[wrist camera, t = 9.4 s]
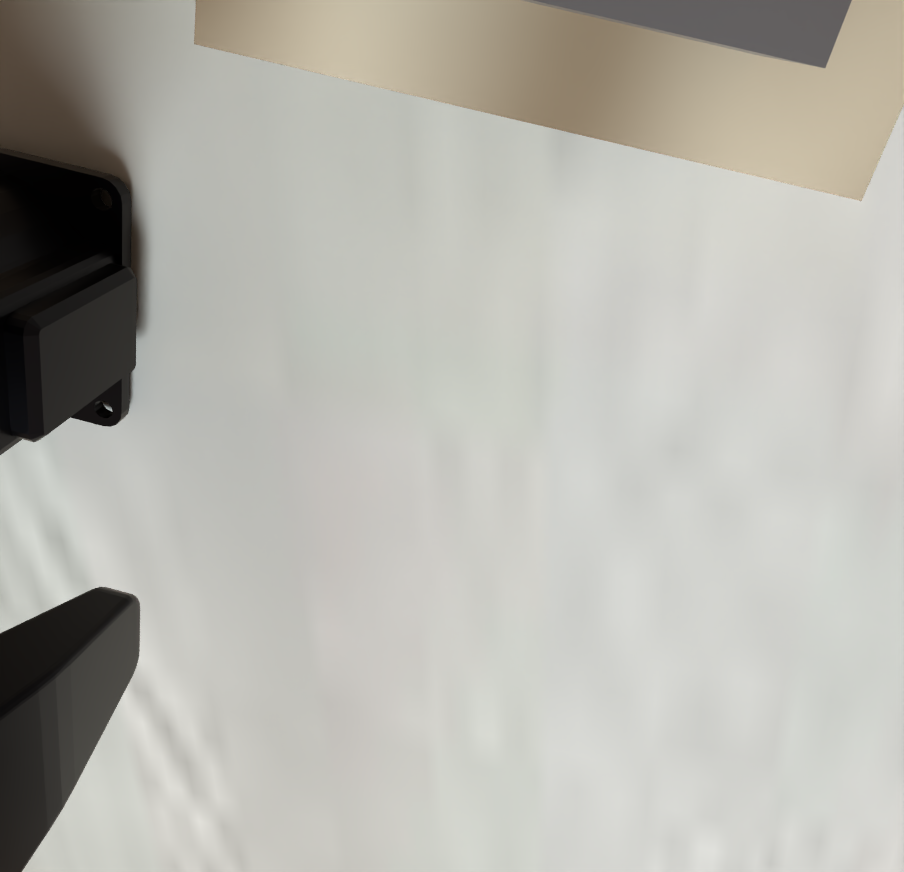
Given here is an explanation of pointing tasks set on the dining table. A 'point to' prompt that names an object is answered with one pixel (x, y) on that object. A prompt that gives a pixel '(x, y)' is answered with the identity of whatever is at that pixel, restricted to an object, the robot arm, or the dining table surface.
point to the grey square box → (731, 23)
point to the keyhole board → (602, 77)
